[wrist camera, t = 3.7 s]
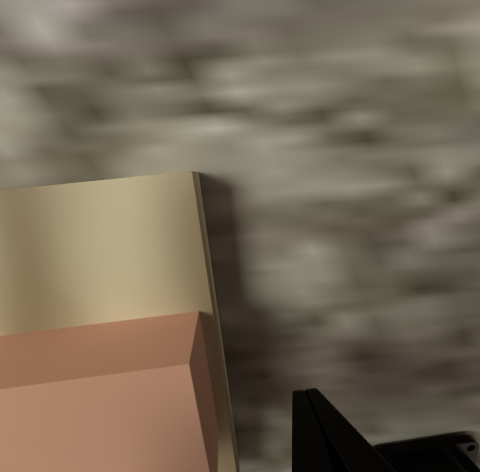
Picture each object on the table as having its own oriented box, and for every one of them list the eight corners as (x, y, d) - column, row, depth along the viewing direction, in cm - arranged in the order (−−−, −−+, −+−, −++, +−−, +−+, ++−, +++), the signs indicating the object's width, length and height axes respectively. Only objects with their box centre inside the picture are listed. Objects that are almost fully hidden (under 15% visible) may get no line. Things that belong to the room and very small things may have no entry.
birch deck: (198, 172, 9) (191, 170, 7) (238, 455, 13) (241, 503, 11) (-116, 204, 9) (-212, 212, 7) (26, 488, 13) (-9, 543, 11)
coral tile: (198, 310, 9) (188, 363, 6) (218, 430, 10) (217, 510, 8) (-53, 342, 8) (-168, 411, 6) (7, 460, 10) (-64, 554, 7)
